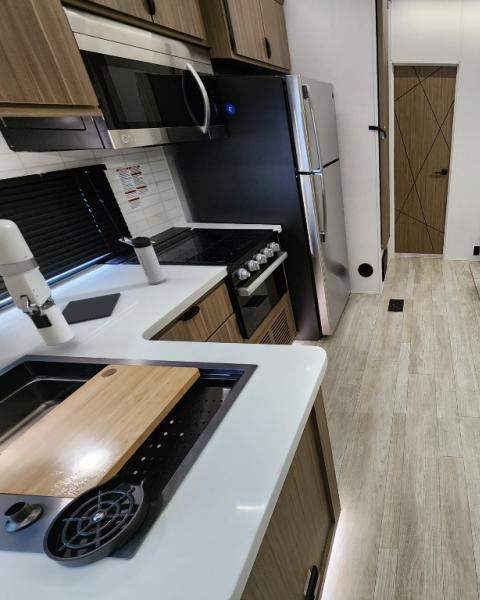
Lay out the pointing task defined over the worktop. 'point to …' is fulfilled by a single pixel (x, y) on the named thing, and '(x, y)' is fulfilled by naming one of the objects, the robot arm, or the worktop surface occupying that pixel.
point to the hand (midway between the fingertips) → (49, 320)
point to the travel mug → (148, 260)
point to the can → (54, 326)
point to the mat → (90, 308)
